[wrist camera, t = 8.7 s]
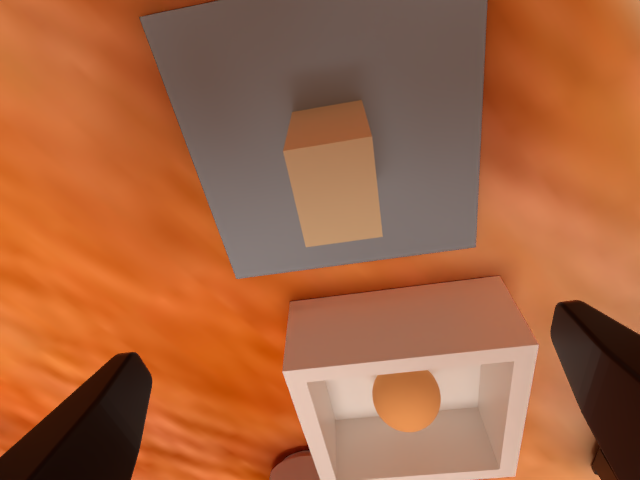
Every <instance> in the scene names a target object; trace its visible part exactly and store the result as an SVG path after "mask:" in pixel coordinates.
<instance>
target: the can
mask: <svg viewBox="0 0 640 480" xmlns="http://www.w3.org/2000/svg"><path fill="white" fill-rule="evenodd" d="M270 480H320V478H319V475H318V472H317V469H316V467H315V464H314V461H313V458H312V455H311V452H310V450H306V451H300V452H297V453H293V454H291V455H289V456H288V457H286V458H285V459H284V460H283V461H282V462H281V463H279V464H278V465H276V467H275V468H274V469H273V470H272V471H271V474H270Z"/></svg>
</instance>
